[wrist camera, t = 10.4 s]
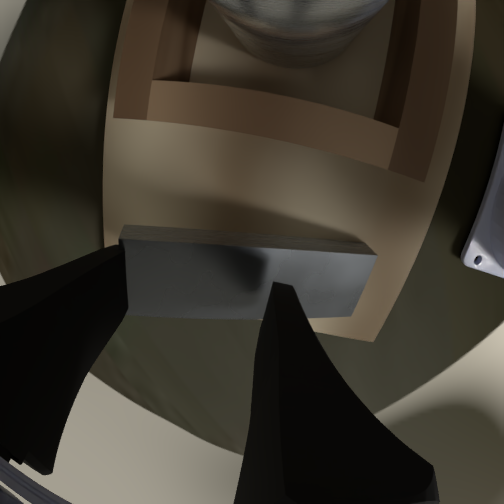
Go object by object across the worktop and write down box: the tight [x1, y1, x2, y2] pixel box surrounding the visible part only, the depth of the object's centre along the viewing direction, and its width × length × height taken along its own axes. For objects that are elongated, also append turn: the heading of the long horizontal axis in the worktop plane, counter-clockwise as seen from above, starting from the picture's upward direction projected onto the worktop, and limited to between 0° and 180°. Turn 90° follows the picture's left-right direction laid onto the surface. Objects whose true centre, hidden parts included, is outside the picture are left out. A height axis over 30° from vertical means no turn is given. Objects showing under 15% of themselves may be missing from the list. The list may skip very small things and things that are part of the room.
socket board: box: [103, 0, 476, 342], centre depth 9 cm, size 14×18×4 cm
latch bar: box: [118, 224, 378, 319], centre depth 11 cm, size 9×3×1 cm, turn 79°
